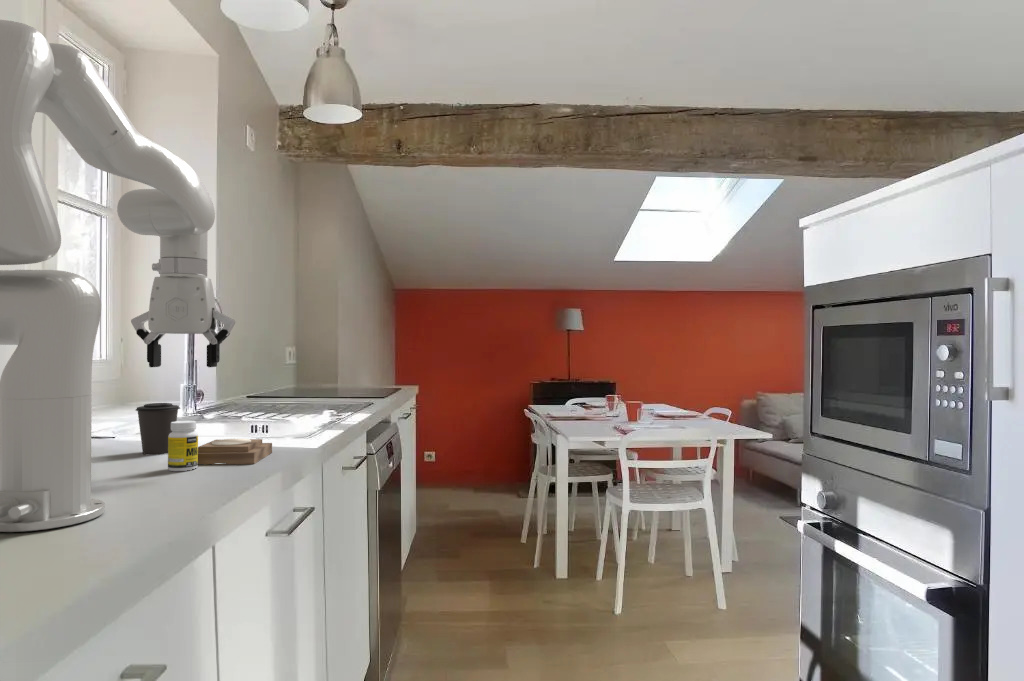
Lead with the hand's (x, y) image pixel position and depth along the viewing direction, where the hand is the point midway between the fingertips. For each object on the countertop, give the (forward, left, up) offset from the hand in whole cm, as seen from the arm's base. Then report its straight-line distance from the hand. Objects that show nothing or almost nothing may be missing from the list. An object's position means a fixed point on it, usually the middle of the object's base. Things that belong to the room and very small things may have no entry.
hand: (183, 366), depth 115 cm
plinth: (+10, -5, -18) cm, 21 cm away
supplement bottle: (0, 0, -18) cm, 18 cm away
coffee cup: (+18, +12, -18) cm, 28 cm away
